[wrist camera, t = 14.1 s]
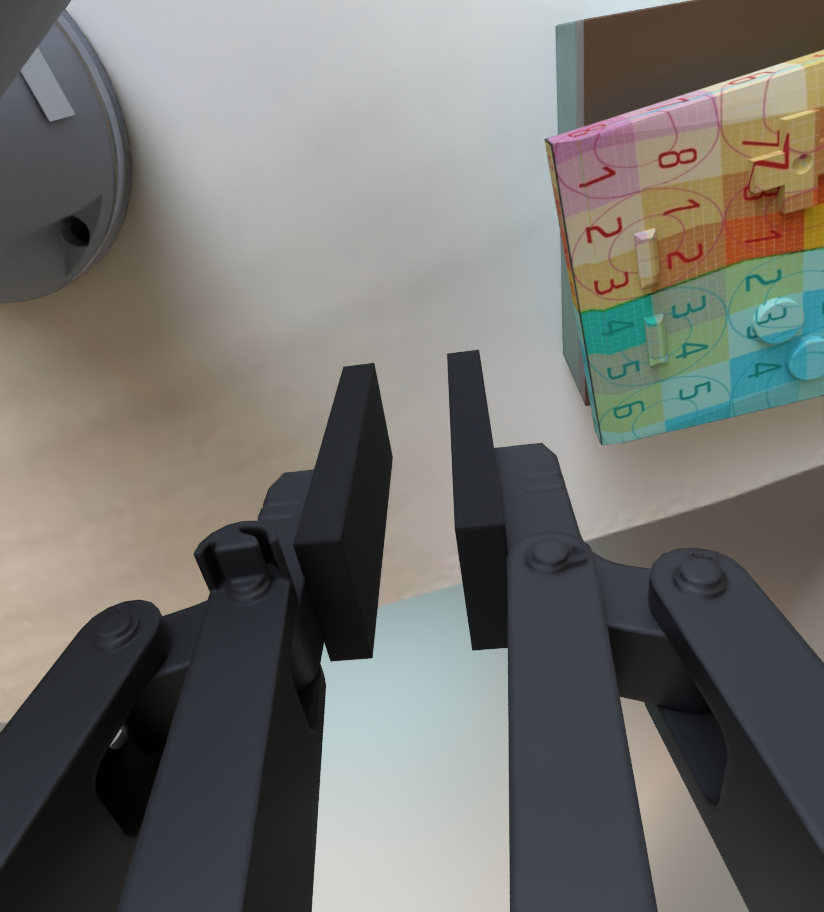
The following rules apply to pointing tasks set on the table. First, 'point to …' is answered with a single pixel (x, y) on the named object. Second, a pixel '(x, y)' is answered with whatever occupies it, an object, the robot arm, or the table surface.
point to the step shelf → (667, 72)
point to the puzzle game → (698, 251)
